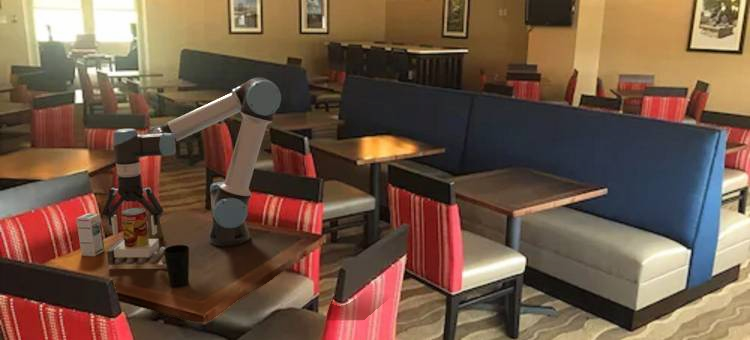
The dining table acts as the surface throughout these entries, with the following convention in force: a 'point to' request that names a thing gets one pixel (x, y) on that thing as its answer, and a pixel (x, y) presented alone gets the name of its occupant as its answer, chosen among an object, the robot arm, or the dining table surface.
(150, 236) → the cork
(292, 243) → the dining table surface
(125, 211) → the canned food
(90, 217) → the syrup box
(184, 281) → the cup
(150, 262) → the roller bed
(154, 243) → the slab
